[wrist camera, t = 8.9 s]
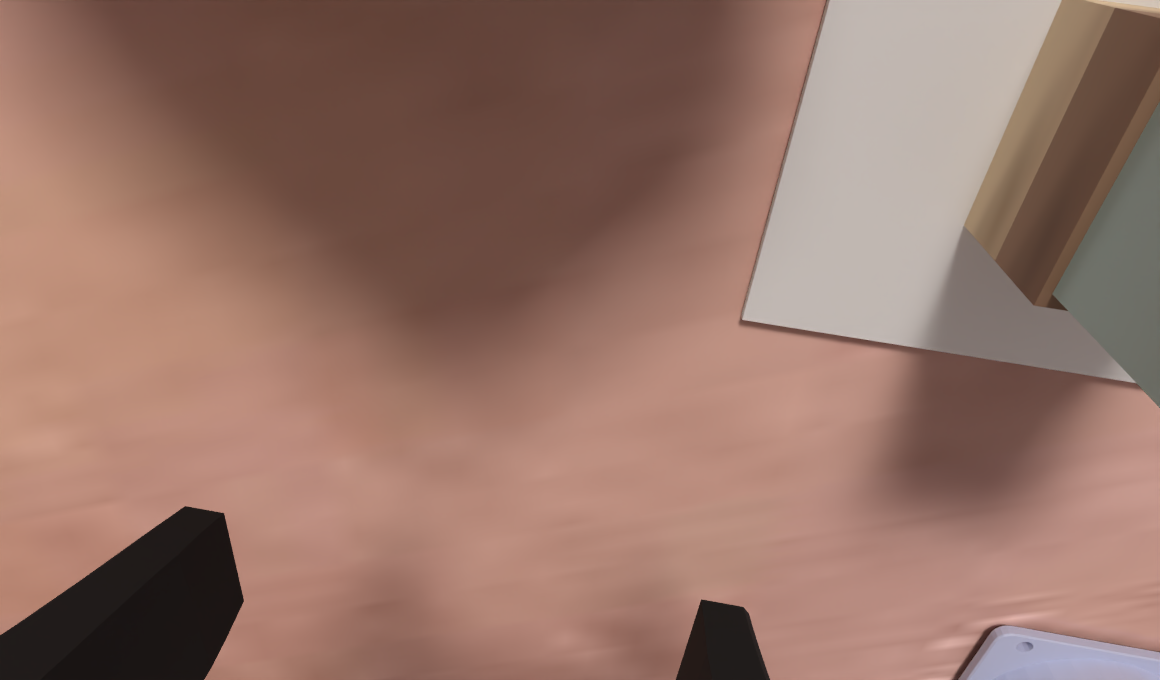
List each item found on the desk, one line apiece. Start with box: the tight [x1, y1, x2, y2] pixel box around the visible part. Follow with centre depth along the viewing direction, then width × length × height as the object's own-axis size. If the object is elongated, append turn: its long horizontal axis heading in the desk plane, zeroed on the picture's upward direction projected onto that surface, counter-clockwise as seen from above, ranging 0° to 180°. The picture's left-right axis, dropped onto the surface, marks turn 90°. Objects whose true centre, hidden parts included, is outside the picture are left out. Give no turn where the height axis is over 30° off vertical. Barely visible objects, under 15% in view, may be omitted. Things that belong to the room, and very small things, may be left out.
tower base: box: [964, 0, 1160, 261], centre depth 14 cm, size 5×5×2 cm
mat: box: [741, 0, 1160, 383], centre depth 15 cm, size 14×12×1 cm
